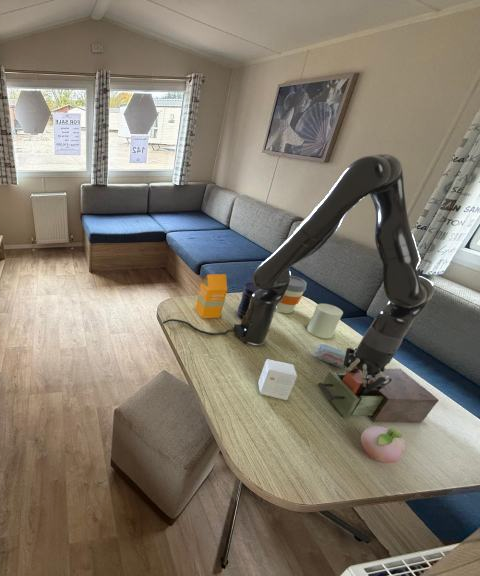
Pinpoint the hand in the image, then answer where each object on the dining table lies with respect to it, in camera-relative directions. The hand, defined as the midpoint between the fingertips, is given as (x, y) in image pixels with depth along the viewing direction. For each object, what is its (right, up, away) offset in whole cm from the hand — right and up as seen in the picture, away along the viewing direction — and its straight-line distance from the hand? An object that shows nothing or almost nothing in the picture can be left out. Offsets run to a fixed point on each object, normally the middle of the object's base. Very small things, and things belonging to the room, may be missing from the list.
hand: (353, 387), depth 94 cm
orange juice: (-27, +19, +49) cm, 59 cm away
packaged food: (+9, +3, +21) cm, 23 cm away
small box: (-21, -4, +8) cm, 22 cm away
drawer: (0, -6, +3) cm, 6 cm away
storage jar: (-9, +17, +47) cm, 51 cm away
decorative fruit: (-5, -15, -12) cm, 19 cm away
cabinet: (+11, -7, +4) cm, 14 cm away
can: (+17, +11, +38) cm, 43 cm away
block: (0, 0, 0) cm, 0 cm away
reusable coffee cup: (+11, +21, +55) cm, 60 cm away
